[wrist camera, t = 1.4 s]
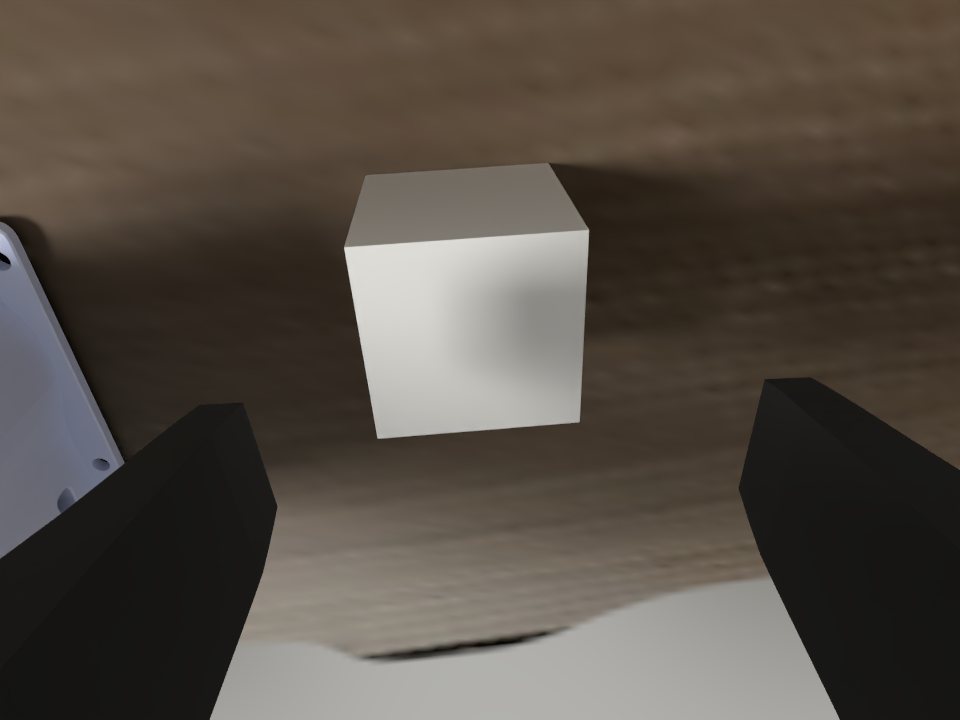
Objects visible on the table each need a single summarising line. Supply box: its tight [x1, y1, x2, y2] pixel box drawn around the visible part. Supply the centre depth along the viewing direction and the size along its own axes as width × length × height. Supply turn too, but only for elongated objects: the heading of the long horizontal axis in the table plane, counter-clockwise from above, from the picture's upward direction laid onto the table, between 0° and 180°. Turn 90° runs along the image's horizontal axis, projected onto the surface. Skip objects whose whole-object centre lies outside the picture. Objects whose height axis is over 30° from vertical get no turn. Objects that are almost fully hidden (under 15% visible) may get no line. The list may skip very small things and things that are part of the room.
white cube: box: [344, 163, 589, 439], centre depth 16 cm, size 5×5×5 cm
